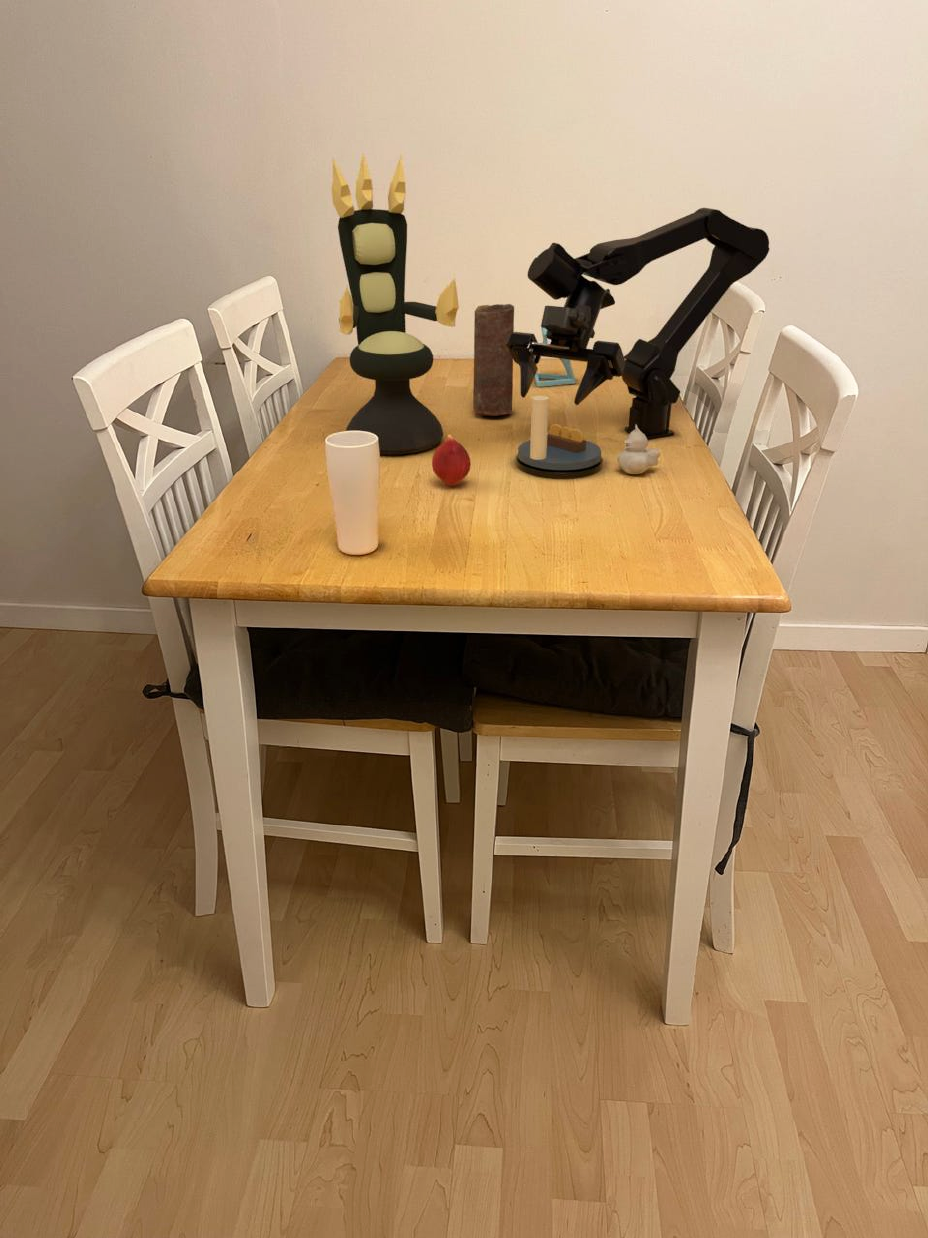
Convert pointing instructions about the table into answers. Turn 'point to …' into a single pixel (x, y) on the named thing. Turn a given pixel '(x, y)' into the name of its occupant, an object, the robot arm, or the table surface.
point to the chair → (558, 378)
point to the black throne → (385, 314)
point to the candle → (493, 360)
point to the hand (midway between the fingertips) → (548, 399)
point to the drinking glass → (354, 489)
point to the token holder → (555, 443)
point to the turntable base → (558, 471)
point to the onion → (451, 462)
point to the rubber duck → (637, 454)
